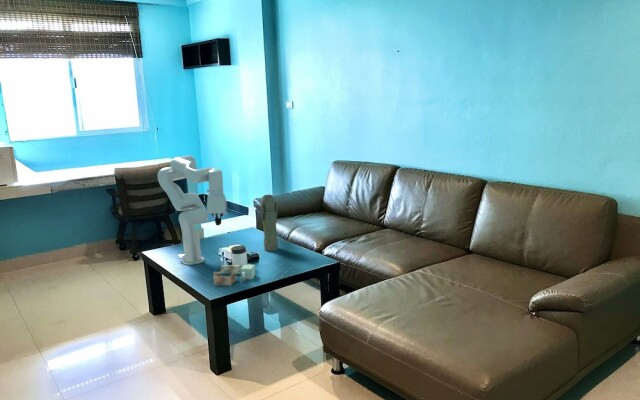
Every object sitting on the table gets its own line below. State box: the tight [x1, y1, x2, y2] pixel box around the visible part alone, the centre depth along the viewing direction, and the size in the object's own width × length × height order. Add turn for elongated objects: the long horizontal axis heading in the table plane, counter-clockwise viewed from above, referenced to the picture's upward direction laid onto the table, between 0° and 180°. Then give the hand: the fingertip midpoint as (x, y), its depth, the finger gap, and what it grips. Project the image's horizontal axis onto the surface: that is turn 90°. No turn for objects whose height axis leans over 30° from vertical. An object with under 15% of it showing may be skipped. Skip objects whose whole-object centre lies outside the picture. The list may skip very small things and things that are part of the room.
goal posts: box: [240, 263, 253, 283], centre depth 267 cm, size 2×14×5 cm, turn 171°
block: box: [240, 264, 256, 280], centre depth 267 cm, size 6×6×6 cm
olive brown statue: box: [259, 194, 279, 253], centre depth 309 cm, size 9×12×35 cm
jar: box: [230, 245, 248, 266], centre depth 281 cm, size 9×8×12 cm
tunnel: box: [212, 264, 242, 286], centre depth 266 cm, size 12×18×4 cm, turn 171°
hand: (218, 224), depth 273 cm, fingers closed
